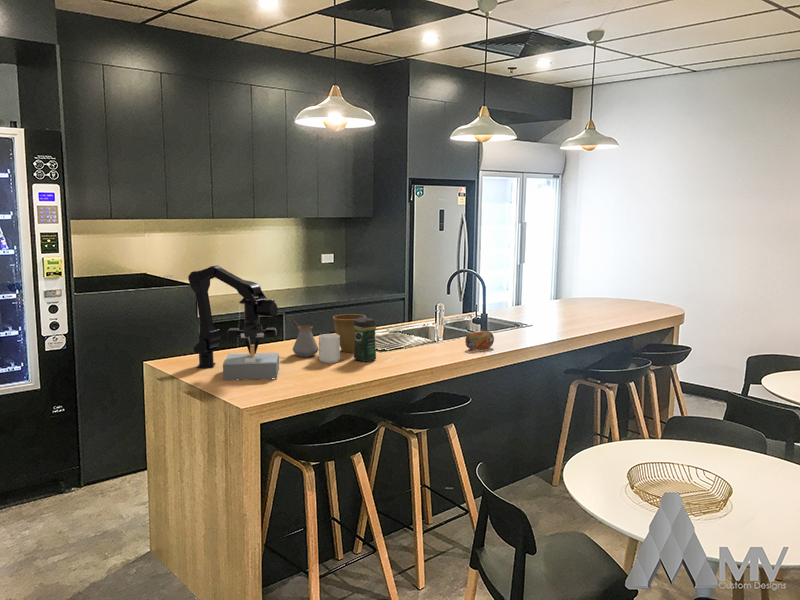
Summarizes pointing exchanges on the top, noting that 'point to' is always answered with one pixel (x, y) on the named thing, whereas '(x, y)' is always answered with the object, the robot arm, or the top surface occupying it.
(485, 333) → the tin
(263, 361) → the lid
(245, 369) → the carton
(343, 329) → the plant pot
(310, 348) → the coffee pot
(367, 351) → the coffee jar
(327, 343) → the mug
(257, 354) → the lid
